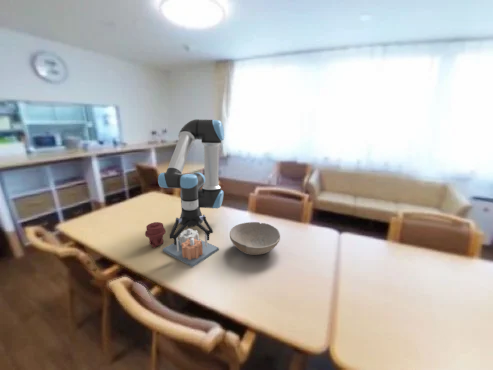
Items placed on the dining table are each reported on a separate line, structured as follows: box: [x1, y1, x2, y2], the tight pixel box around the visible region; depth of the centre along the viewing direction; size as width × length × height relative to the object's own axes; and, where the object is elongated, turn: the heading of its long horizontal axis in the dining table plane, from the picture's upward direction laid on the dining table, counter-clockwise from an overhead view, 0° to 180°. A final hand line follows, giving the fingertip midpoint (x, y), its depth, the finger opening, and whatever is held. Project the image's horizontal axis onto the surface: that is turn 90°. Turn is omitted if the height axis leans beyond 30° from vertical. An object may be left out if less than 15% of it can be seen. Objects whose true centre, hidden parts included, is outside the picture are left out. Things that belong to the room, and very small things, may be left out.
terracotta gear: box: [182, 239, 203, 260], centre depth 116 cm, size 10×10×6 cm
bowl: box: [229, 221, 281, 256], centre depth 123 cm, size 26×26×10 cm
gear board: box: [162, 228, 220, 268], centre depth 121 cm, size 18×22×10 cm
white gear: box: [178, 228, 200, 246], centre depth 126 cm, size 10×10×6 cm
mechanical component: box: [144, 221, 167, 249], centre depth 125 cm, size 12×10×10 cm
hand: (192, 247), depth 116 cm, fingers open, 13 cm apart
